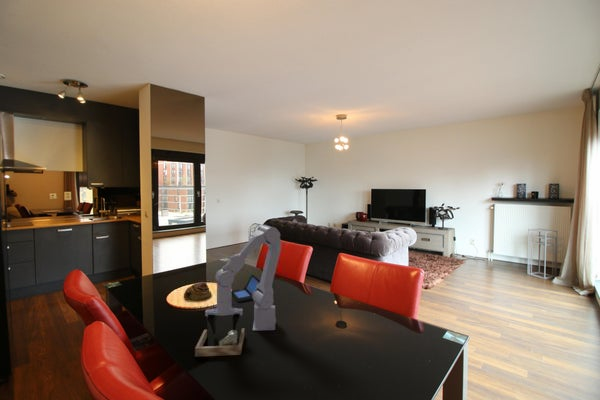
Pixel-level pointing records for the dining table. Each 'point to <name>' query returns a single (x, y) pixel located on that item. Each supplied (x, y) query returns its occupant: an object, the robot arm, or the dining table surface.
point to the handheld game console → (246, 290)
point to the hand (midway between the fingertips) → (224, 332)
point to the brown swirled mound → (197, 292)
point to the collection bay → (218, 347)
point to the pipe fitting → (229, 339)
